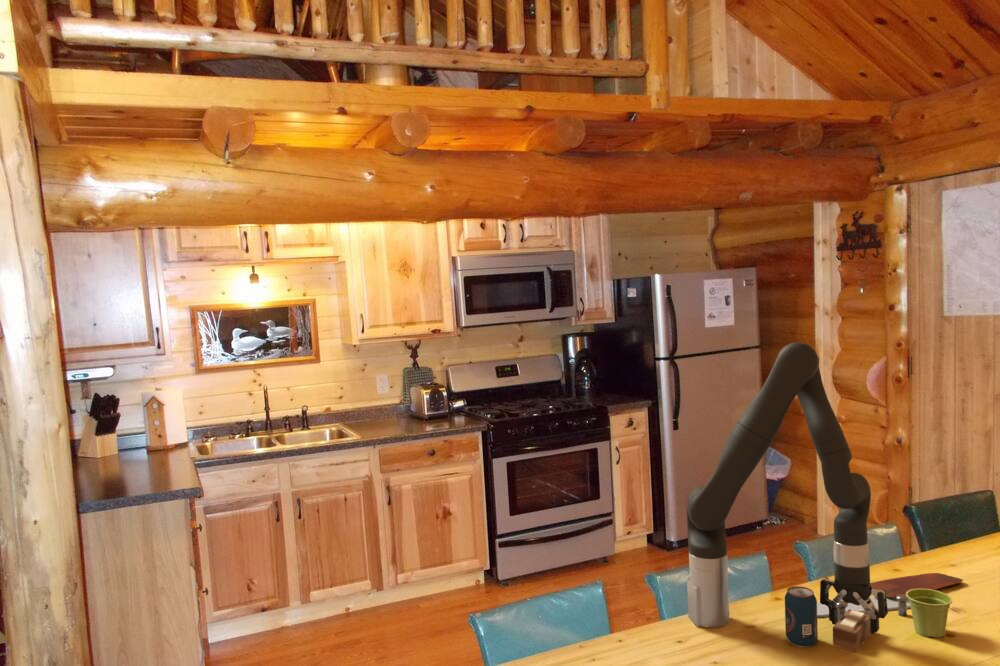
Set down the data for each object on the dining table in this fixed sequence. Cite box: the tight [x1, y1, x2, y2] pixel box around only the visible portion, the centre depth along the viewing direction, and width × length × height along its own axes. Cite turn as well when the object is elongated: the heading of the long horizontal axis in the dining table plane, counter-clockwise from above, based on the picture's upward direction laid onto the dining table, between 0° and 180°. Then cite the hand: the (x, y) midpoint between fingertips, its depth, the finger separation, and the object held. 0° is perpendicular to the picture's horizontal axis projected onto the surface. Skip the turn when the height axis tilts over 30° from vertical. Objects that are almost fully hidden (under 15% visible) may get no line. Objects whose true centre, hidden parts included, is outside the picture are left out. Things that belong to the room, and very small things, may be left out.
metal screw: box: [836, 601, 848, 621], centre depth 181 cm, size 3×3×5 cm
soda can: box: [784, 585, 819, 648], centre depth 171 cm, size 7×7×12 cm
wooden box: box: [832, 609, 871, 652], centre depth 172 cm, size 12×5×5 cm, turn 138°
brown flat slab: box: [870, 572, 964, 598], centre depth 197 cm, size 27×10×2 cm, turn 110°
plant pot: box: [906, 589, 953, 639], centre depth 173 cm, size 9×9×9 cm
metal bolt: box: [896, 594, 909, 617], centre depth 182 cm, size 3×3×5 cm
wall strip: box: [817, 596, 911, 619], centre depth 188 cm, size 26×7×1 cm, turn 97°
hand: (853, 628), depth 172 cm, fingers open, 8 cm apart
